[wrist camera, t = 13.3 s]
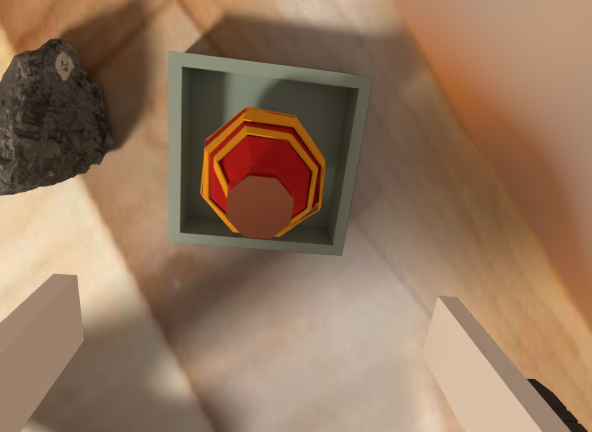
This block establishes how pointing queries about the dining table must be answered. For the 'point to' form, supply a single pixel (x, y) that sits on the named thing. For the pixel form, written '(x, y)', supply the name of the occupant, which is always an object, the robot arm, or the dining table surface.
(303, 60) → the dining table surface
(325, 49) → the dining table surface
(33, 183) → the rock
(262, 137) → the potion bottle
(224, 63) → the bin
